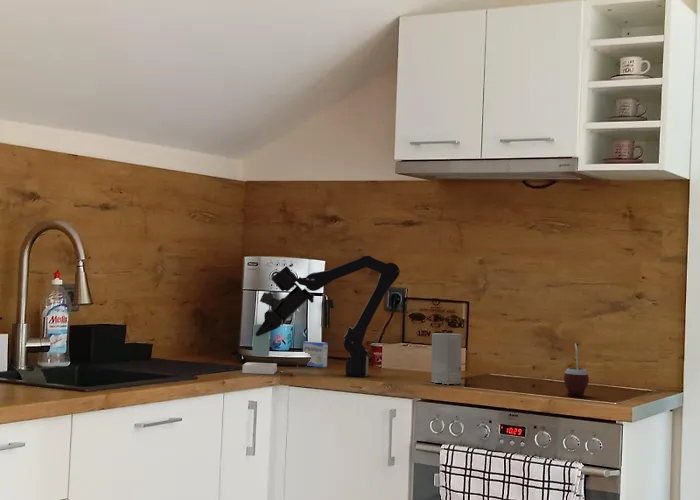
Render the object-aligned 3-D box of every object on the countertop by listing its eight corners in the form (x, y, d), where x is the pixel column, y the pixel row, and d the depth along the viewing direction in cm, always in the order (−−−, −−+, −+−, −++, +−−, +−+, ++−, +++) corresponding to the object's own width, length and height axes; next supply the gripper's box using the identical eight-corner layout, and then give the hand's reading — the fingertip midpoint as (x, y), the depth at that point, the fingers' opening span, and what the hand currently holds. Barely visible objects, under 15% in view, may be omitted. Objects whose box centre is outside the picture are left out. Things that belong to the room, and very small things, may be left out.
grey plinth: (276, 371, 324) (276, 363, 324) (273, 374, 314) (273, 366, 315) (246, 369, 325) (246, 362, 325) (242, 372, 315) (242, 365, 315)
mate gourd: (576, 398, 281) (578, 345, 281) (556, 394, 287) (557, 343, 288) (594, 397, 285) (595, 345, 285) (573, 393, 291) (575, 343, 292)
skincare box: (448, 385, 300) (450, 334, 301) (428, 383, 305) (430, 332, 305) (462, 383, 307) (464, 333, 308) (442, 381, 311) (444, 331, 312)
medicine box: (301, 366, 345) (302, 341, 346) (306, 365, 350) (307, 340, 350) (323, 367, 343) (324, 342, 343) (327, 366, 347) (328, 342, 348)
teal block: (253, 354, 322) (255, 324, 322) (269, 355, 322) (270, 324, 322) (252, 355, 318) (253, 324, 318) (267, 356, 317) (268, 325, 318)
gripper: (278, 283, 330) (244, 315, 330) (272, 284, 311) (236, 318, 311) (300, 308, 329) (266, 340, 329) (296, 310, 310) (260, 343, 310)
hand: (257, 334), depth 320 cm, fingers closed on teal block, 4 cm apart
